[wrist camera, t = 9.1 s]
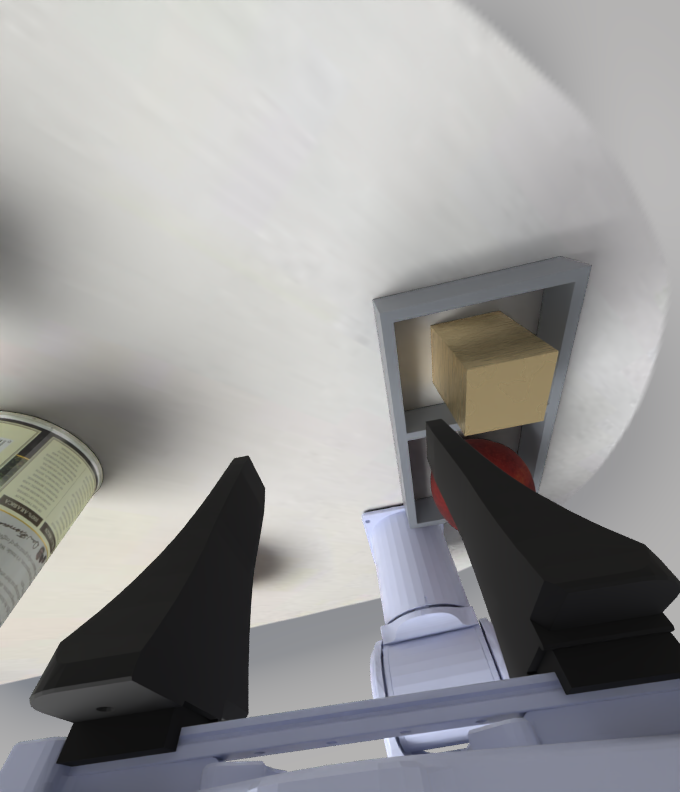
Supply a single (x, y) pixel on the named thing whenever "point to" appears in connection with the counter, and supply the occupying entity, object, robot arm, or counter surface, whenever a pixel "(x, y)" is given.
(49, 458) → the coffee can
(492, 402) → the wooden block
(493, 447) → the apple
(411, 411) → the grey divided tray
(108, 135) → the counter surface
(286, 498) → the counter surface
